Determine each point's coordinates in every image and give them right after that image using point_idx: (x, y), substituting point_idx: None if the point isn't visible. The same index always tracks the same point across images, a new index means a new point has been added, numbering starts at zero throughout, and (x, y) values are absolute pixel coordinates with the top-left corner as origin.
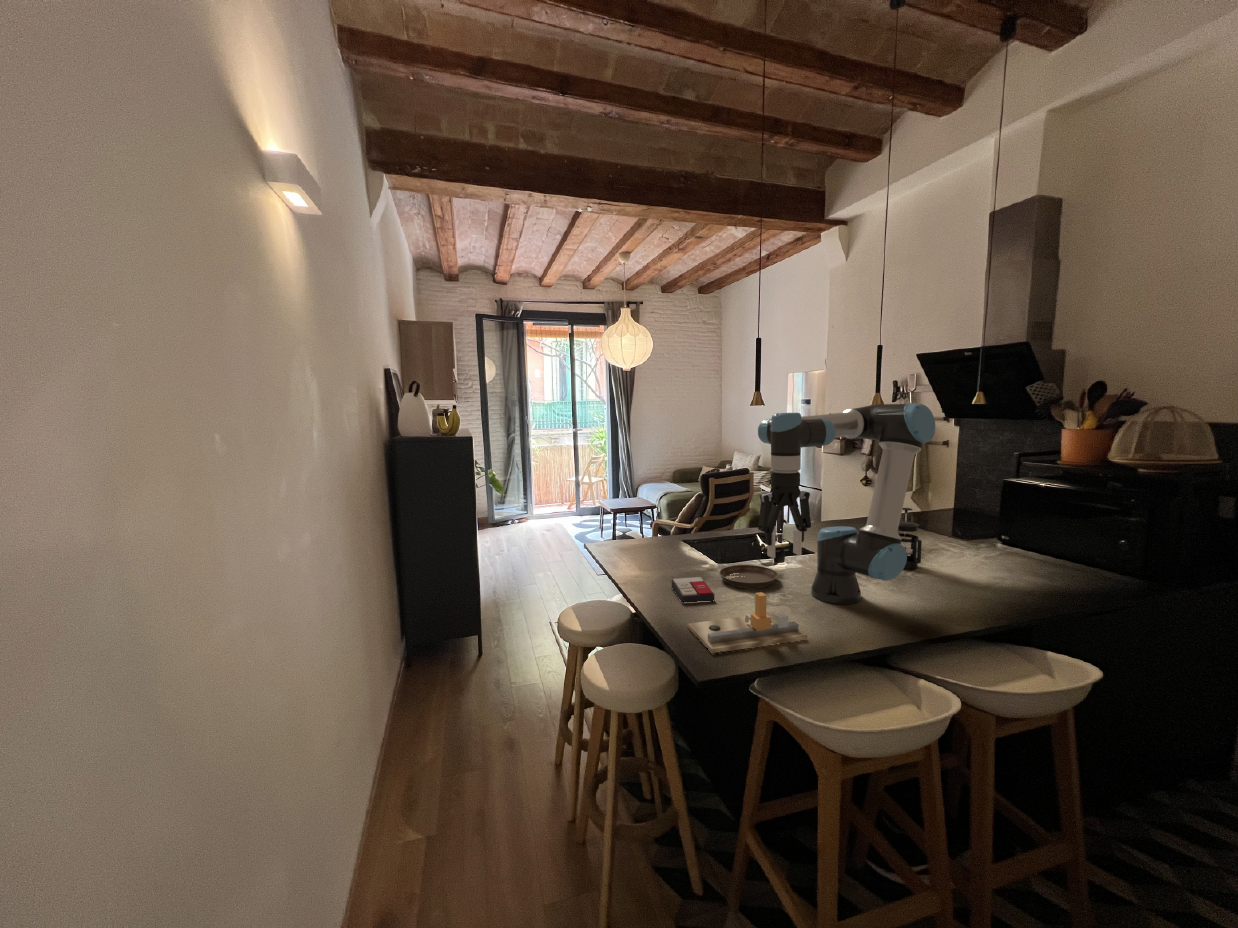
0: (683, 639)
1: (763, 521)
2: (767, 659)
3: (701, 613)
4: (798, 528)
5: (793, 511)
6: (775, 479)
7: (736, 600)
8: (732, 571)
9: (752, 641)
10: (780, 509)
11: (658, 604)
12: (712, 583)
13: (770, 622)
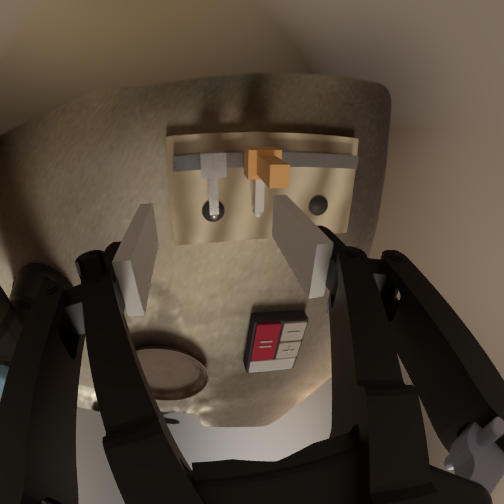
0: (364, 197)
1: (433, 288)
2: (279, 90)
3: (294, 276)
4: (119, 300)
5: (155, 408)
6: None
7: (212, 313)
8: (177, 391)
9: (283, 138)
10: (376, 386)
11: None
12: (222, 368)
13: (247, 148)
